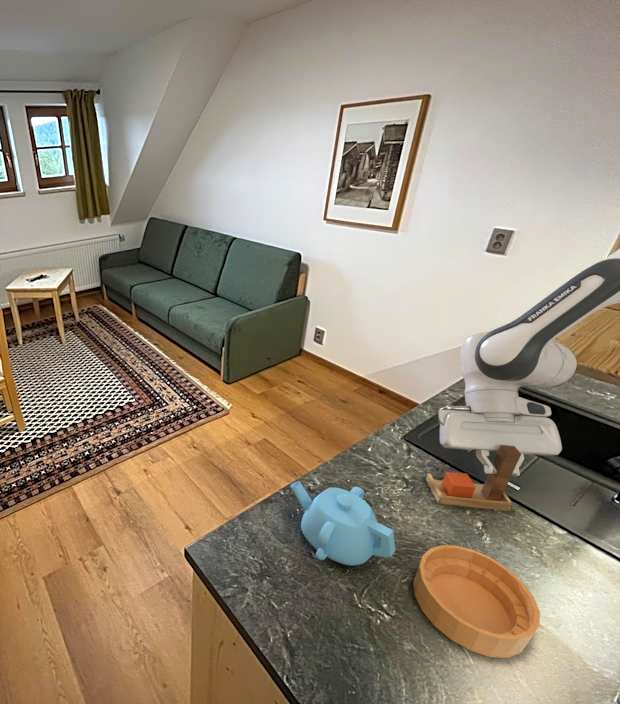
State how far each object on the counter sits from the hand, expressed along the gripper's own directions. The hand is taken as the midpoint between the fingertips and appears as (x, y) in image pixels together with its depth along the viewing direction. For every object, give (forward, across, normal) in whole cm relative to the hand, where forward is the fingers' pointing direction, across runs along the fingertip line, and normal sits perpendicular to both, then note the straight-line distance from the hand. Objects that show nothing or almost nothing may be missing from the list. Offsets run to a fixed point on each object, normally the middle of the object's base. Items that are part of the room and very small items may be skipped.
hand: (502, 474), depth 81 cm
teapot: (+16, -34, -5) cm, 38 cm away
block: (+4, -6, +5) cm, 9 cm away
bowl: (+23, -15, -12) cm, 30 cm away
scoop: (+5, -4, +6) cm, 9 cm away
